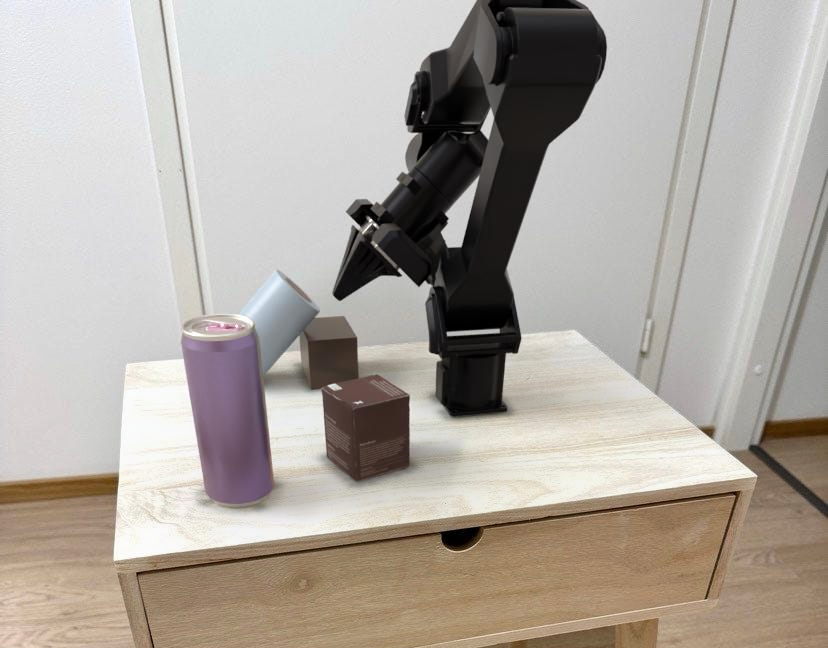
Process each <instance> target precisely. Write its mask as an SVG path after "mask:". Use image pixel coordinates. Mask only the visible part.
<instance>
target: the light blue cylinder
mask: <svg viewBox="0 0 828 648" xmlns="http://www.w3.org/2000/svg"><path fill="white" fill-rule="evenodd" d="M320 309H321V308H320V307H319V306H318V305H317V303H316V302H315V301H314V300H313V298H311V296H309V295H308V294H307V293H306V292H305V290H303V289H302V288H301V287H300V286H299V285H298V284H297V283H296V282H295V281H294V280H292V278H290V277H289V276H288V275H287V274H285V273H284V272H283V271H281V270H279V269H275V270H274V271H273V272H272V273H271V274H270V275H269V277H268V278H267V279H266V280H265V281H264V283H263V284H262V285H261V286H260V287H259V289H258V290H257V291H256V292H255V293H254V294H253V296H252V297H251V299H249V301H248V302H247V303H246V304H245V306H244V307H243V308H242V309H241V310H240V311H239V313H238V314H237V315H243V316H246V317H249V318H251V319H252V320H253V321H254V322H255V329H256V331H257V333H258V335H259V341H260V351H261V361H262V370H263V377H264V376H265V375H266V374H267V373H268V372H269V371H270V370H271V368H272V367H273V366H274V365H275V364H276V363H277V362H278V361H279V359H280V358H281V357H282V355H283V354H284V353H285V352H286V351H287V350H288V349H289V348H290V347H291V345H292V344H293V343H294V342H295V341H296V340H297V339H298V338H299V335H300V334H301V333H302V332H303V330H304V329H305V328H306V327H307V326H308V325H309V324H310V322H311V321H312V320H313V319H314V318H317V316H318V315H319V314H320V312H321V310H320Z"/></svg>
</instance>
